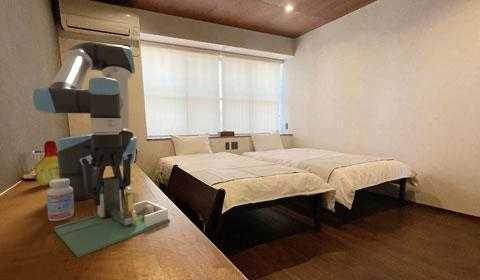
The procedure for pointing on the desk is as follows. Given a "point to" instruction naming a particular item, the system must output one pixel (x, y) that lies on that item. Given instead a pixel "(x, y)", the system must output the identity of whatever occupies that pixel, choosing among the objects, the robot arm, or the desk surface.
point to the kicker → (117, 202)
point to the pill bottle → (60, 200)
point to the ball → (147, 210)
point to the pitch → (99, 232)
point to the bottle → (48, 165)
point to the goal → (155, 217)
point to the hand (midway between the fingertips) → (110, 212)
